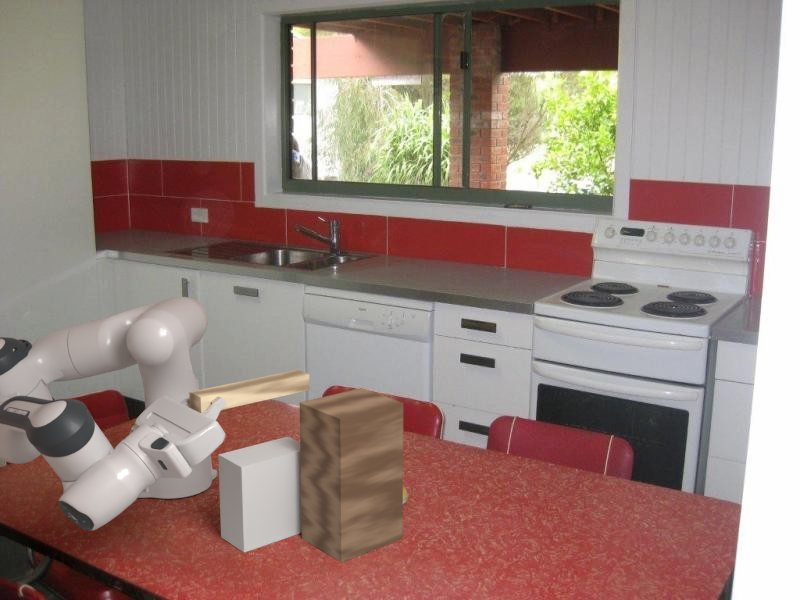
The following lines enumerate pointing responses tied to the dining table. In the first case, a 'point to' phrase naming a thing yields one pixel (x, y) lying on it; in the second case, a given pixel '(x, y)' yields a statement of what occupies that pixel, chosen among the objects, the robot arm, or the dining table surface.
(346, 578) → the dining table surface
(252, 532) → the grey step
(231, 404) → the oak slat
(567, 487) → the dining table surface
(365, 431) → the walnut block
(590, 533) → the dining table surface
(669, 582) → the dining table surface
